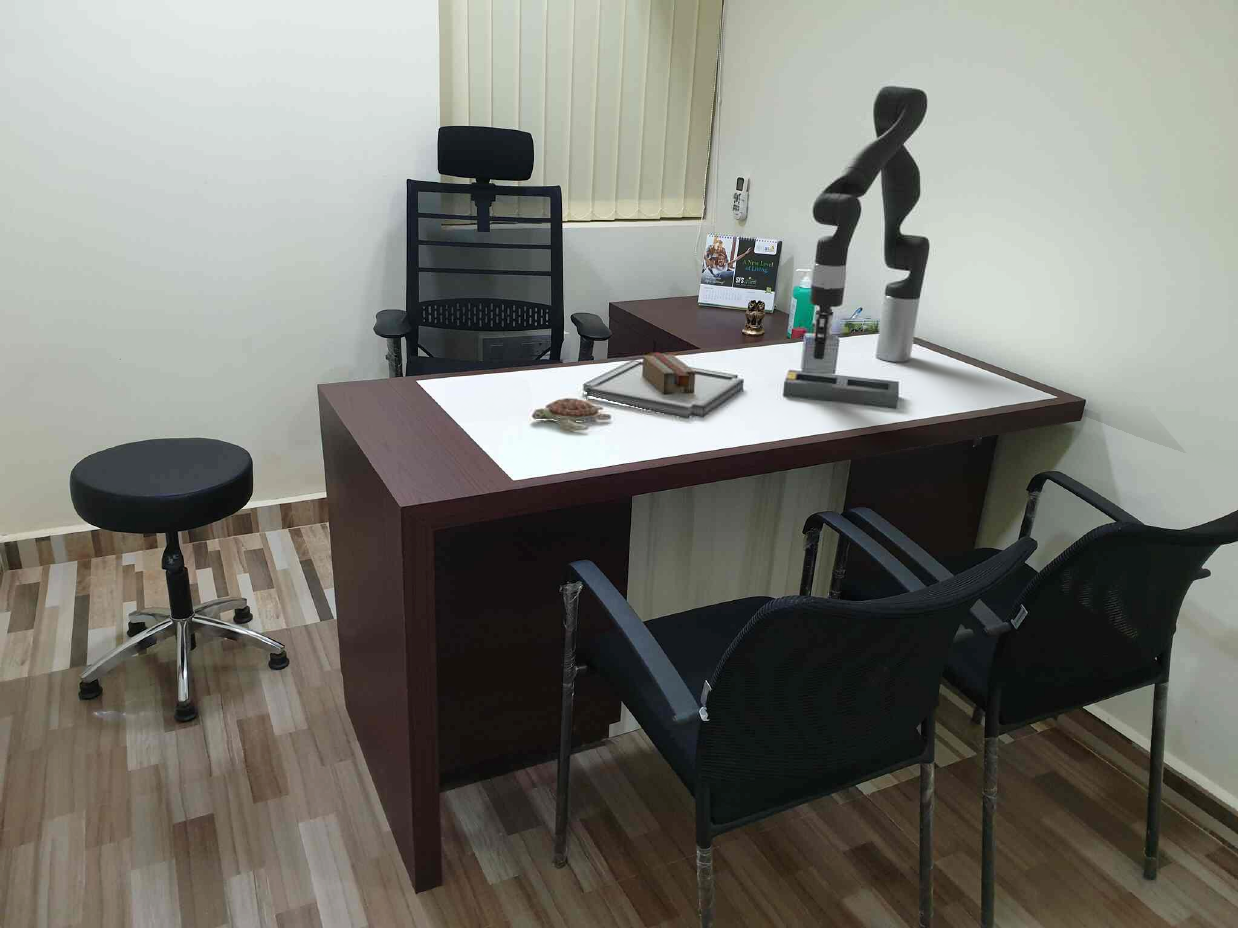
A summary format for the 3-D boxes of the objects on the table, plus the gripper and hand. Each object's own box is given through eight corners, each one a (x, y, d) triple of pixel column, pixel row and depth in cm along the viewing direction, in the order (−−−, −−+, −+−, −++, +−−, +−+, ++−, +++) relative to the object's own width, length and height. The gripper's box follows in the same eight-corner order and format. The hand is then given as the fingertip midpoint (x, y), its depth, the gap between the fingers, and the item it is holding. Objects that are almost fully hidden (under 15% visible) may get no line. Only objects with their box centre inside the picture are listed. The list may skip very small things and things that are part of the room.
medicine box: (833, 370, 219) (837, 334, 216) (835, 375, 215) (840, 339, 212) (800, 368, 220) (804, 332, 216) (801, 373, 215) (805, 337, 212)
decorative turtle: (522, 411, 200) (521, 389, 198) (594, 405, 206) (594, 384, 204) (543, 438, 184) (543, 415, 183) (620, 432, 190) (621, 409, 188)
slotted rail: (787, 383, 226) (789, 369, 224) (896, 395, 219) (898, 380, 218) (782, 396, 216) (784, 381, 214) (896, 409, 210) (898, 393, 208)
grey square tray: (577, 399, 210) (578, 368, 207) (636, 369, 235) (637, 341, 232) (697, 423, 197) (700, 390, 194) (746, 389, 222) (749, 359, 219)
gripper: (814, 277, 217) (806, 347, 223) (808, 287, 204) (800, 361, 210) (846, 279, 215) (837, 350, 221) (843, 290, 202) (833, 365, 208)
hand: (819, 355), depth 216 cm, fingers closed on medicine box, 5 cm apart
